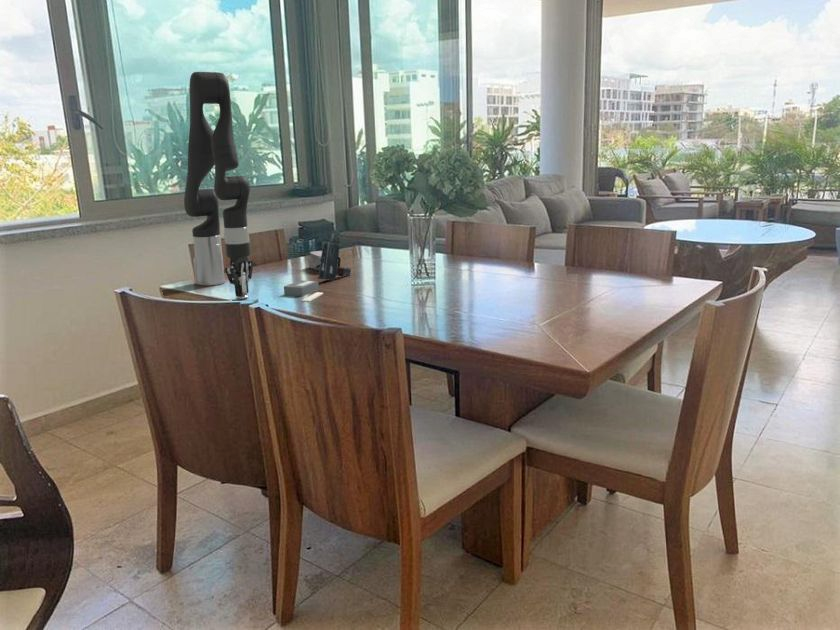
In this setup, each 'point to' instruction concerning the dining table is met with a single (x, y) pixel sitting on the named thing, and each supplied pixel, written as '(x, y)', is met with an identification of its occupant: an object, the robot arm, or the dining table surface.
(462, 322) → the dining table surface
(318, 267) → the decorative stone
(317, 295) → the cream flat strip
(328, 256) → the gun
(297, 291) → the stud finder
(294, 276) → the dining table surface
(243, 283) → the grey beige cylinder
